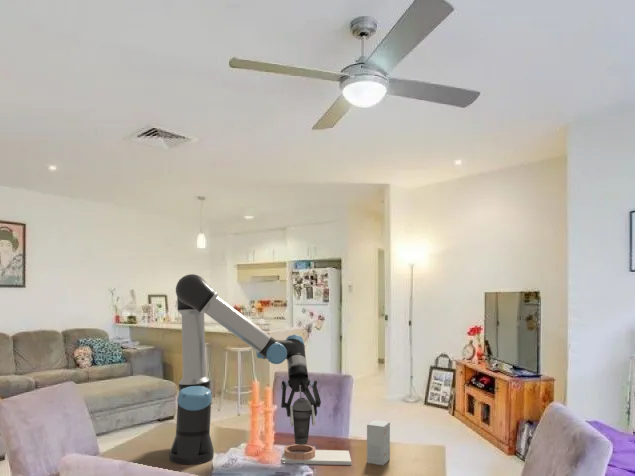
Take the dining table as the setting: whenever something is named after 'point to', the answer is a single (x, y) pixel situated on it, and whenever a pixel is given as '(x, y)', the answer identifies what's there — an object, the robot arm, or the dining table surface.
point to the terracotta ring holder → (299, 452)
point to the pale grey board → (324, 458)
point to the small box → (378, 442)
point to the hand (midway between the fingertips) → (303, 423)
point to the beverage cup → (301, 419)
